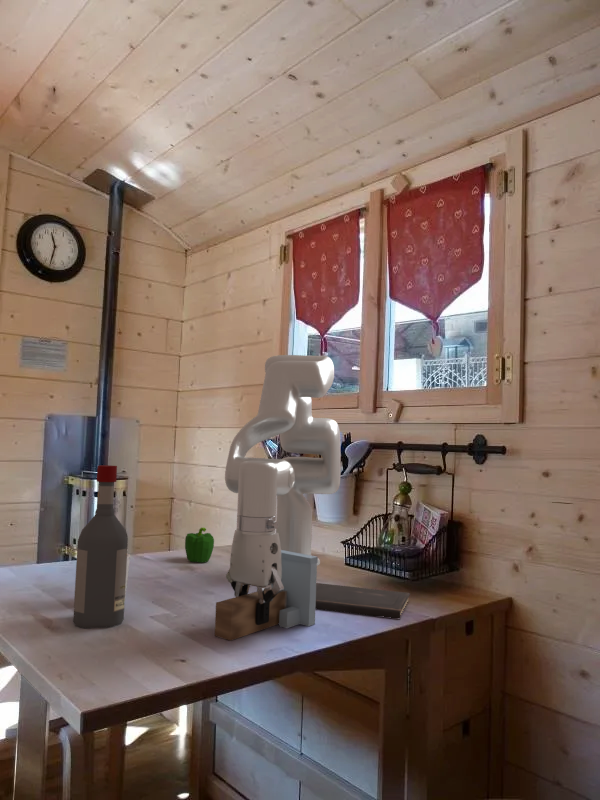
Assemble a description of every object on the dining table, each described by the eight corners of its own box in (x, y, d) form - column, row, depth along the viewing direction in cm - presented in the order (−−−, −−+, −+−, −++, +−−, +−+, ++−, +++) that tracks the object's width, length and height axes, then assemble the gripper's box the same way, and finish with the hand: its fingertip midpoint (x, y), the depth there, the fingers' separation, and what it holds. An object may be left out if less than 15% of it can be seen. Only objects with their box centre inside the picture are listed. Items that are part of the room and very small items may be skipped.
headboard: (263, 609, 130) (265, 546, 131) (315, 623, 122) (317, 556, 122) (242, 615, 125) (245, 550, 126) (296, 630, 117) (298, 560, 118)
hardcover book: (314, 592, 149) (315, 582, 149) (409, 603, 142) (410, 593, 142) (294, 609, 134) (294, 598, 134) (399, 622, 127) (400, 610, 127)
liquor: (72, 629, 113) (81, 466, 115) (75, 615, 122) (84, 464, 123) (123, 627, 115) (131, 467, 117) (123, 613, 124) (131, 465, 126)
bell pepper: (182, 559, 180) (184, 524, 180) (210, 558, 182) (211, 524, 183) (185, 564, 172) (187, 529, 172) (215, 564, 174) (216, 528, 175)
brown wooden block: (270, 617, 125) (271, 587, 125) (285, 621, 122) (286, 591, 123) (214, 635, 112) (216, 602, 113) (230, 640, 110) (231, 606, 110)
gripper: (302, 528, 116) (298, 625, 115) (238, 518, 127) (234, 607, 126) (276, 532, 110) (272, 635, 109) (211, 521, 121) (207, 615, 120)
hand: (252, 619), depth 118 cm, fingers open, 4 cm apart
